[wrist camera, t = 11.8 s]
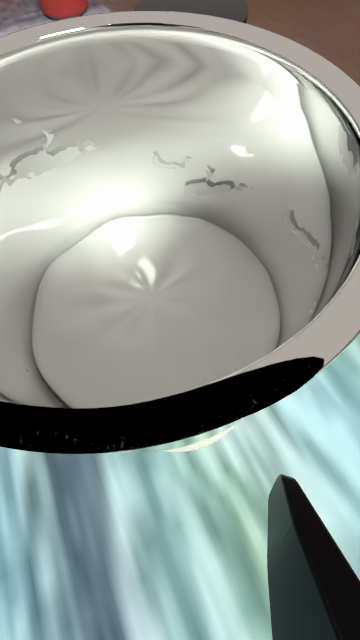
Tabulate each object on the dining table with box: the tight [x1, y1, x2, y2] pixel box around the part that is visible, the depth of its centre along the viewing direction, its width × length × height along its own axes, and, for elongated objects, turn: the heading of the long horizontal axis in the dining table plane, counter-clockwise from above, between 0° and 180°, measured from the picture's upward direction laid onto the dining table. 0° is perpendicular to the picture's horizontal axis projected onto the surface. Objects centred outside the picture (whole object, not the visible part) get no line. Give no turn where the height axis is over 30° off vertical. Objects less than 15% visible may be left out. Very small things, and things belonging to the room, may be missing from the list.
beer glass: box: [0, 11, 360, 454], centre depth 10 cm, size 7×7×15 cm
